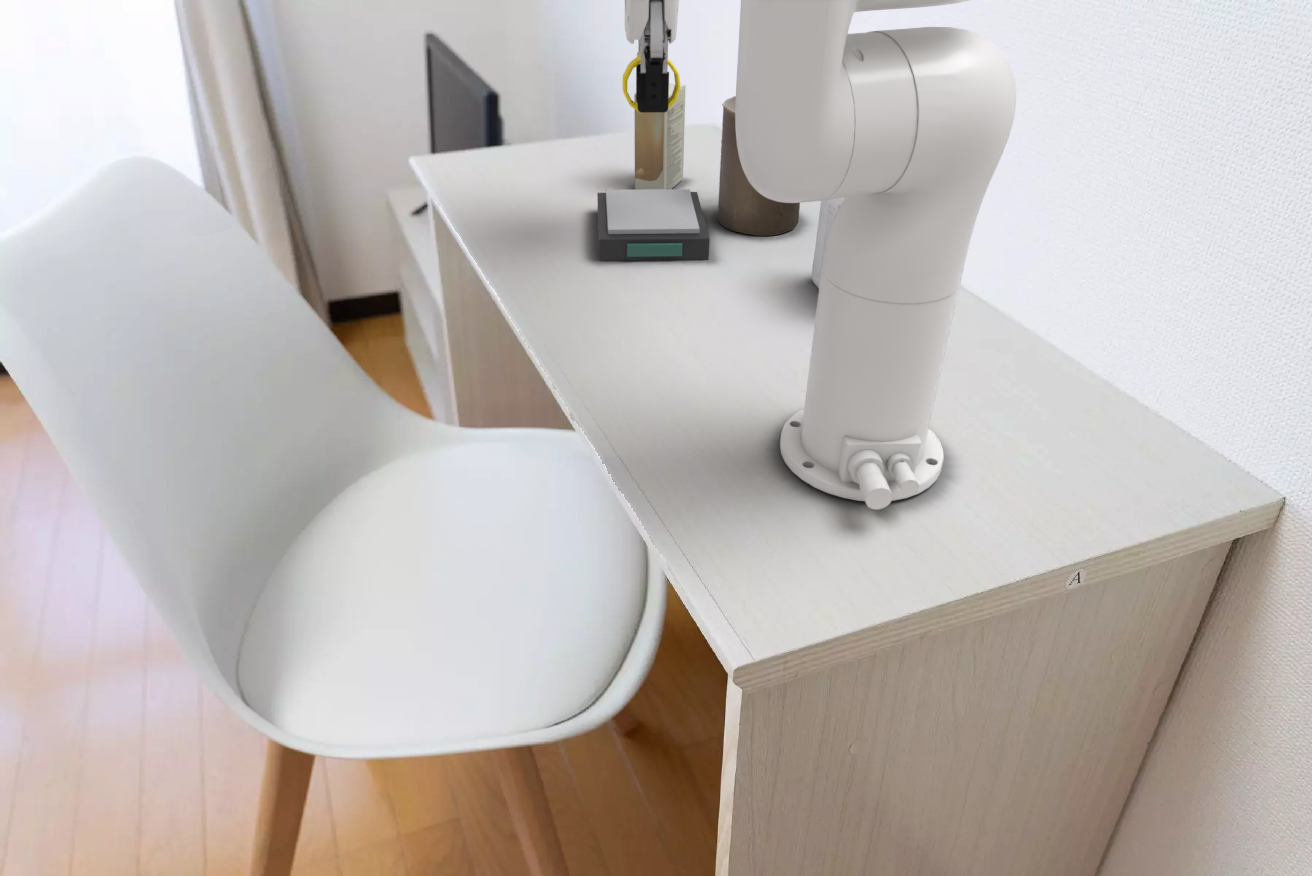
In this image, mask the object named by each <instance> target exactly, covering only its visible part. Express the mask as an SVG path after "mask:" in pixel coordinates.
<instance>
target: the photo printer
mask: <svg viewBox="0 0 1312 876" xmlns="http://www.w3.org/2000/svg"><path fill="white" fill-rule="evenodd" d="M845 198H846V197H844V198H837V199H830V200H822V201H820V205H819V215H818V222H817V231H816V238H815V246H814V253H813V259H812V260H813V261H812V268H811V280H812V282H813V283H814V285H815V286H816V287H817V289H819V286H820V278H821V270H822V264H823V256H824V249H825V244H826V240H827V236H828V233H829V230H830V227H831V225H832V223H833V220H834V218H835V216H836V214H837V212H838V210H839V208H840V206H841V204H842V203H843V201H844V199H845Z"/></svg>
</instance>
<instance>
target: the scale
mask: <svg viewBox="0 0 1312 876" xmlns="http://www.w3.org/2000/svg"><path fill="white" fill-rule="evenodd" d="M596 193H597V194H596V195H597V230H598V233H597V234H598V258H599V259H598V260H599V261H600V262H601V261H602V262H603V261H605V262H606V261H607V262H608V261H688V260H689V261H693V260H695V261H697V260H700V261H701V260H709V259H710V240H711V239H710V235H709V231H708V227H707V223H706V220H705V215H704V213H703V209H702V204H701V202H700V197H699V194H698V192H697V191H691V190H690V188H685V189H684V188H677V189H676V188H672V189H644V190H637V189H605V192H596Z"/></svg>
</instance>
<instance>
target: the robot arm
mask: <svg viewBox="0 0 1312 876" xmlns="http://www.w3.org/2000/svg"><path fill="white" fill-rule="evenodd" d="M969 1H970V0H740V8H739V9H740V12H739V30H738V48H737V65H736V66H737V67H736V83H735V84H736V85H735V96H736V105H735V129H736V141H737V149H738V154H739V159H740V162H741V165H742V169H743V171H744V173H745V175H746V177H747V179H748V181H749V183H750V184H751V185H752V186H753V188H754V189H755V190H756V191H757V192H758V193H760V194H761V195H763V196H764V197H766V198H768V199H771V200H774V201H777V202H783V203H800V204H802V203H812V202H821V201H822V200H830V199H837V198H844V197H846V198H845V199H844V201H843V203H842V204H841V206H840V208H839V210H838V212H837V214H836V216H835V218H834V220H833V223H832V225H831V227H830V230H829V233H828V236H827V240H826V244H825V249H824V256H823V264H822V270H821V278H820V286H819V288H818V295H817V302H816V310H815V318H814V326H813V333H812V334H813V335H812V342H811V352H810V359H809V368H808V375H807V384H806V391H805V399H804V407H803V408H802V409H800V410H798V411H797V412H795V413H794V414H793V415H791V416H790V417H789V418H788V419H787V421H785V423H784V425H783V428H782V430H781V432H780V441H779V448H780V455H781V457H782V459H783V462H784V463H785V464H786V466H787V467H788V468H789V469H790V471H791V472H792V473H793V474H794V475H796V476H797V477H798V478H799V479H800V480H801V481H803V482H805V483H806V484H809V485H810V486H811V487H813V488H814V489H817V490H818V491H822V492H824V493H826V494H829V495H832V496H835V497H839V498H843V499H847V500H852V501H856V502H857V501H858V502H864V503H865V505H866V506H867V508H869V509H871V510H876V511H878V510H882V509H885V508H887V507H888V506H889V505H890V504H892V503H891V502H892V501H893V502H894V501H898V500H903V499H908V498H910V497H914V496H916V495H919V494H920V493H922V492H924V491H926V490H927V489H929V488H930V487H931V486H932V485H933V484H934V483H935V482H936V481H937V480H938V478H939V476H940V474H941V473H942V469H943V464H944V460H945V456H944V448H943V446H942V443H941V440H940V439H939V438H938V436H937V435H936V433H935V432H934V431H933V430H932V429H930V425H931V420H932V416H933V411H934V407H935V402H936V398H937V393H938V388H939V385H940V384H939V383H940V379H941V375H942V370H943V365H944V361H945V357H946V352H947V350H946V349H947V346H948V343H949V337H950V333H951V327H952V323H953V320H954V319H953V318H954V314H955V310H956V304H957V300H958V295H959V291H960V286H961V284H962V279H963V274H964V270H965V265H966V260H967V257H968V251H969V249H970V244H971V238H972V236H973V232H974V229H975V225H976V223H977V218H978V215H979V212H980V209H981V207H982V204H983V200H984V198H985V195H986V194H987V193H986V192H987V190H988V188H989V185H990V183H991V181H992V179H993V176H994V174H995V172H996V169H997V168H998V165H999V163H1000V161H1001V158H1002V156H1003V153H1004V151H1005V149H1006V146H1007V144H1008V141H1009V138H1010V134H1011V132H1012V129H1013V126H1014V125H1013V124H1014V120H1015V114H1016V109H1017V107H1016V106H1017V87H1016V79H1015V76H1014V73H1013V69H1012V66H1011V65H1010V63H1009V60H1008V58H1007V57H1006V55H1005V54H1004V53H1003V52H1002V50H1001V49H1000V48H999V47H998V46H997V45H996V44H995V43H994V42H993V41H991V40H990V39H989V38H987V37H985V36H983V35H982V34H979V33H976V32H975V31H971V30H968V29H963V28H958V27H951V26H923V27H922V26H921V27H909V28H897V29H881V30H871V31H867V32H854V33H849V29H850V26H851V22H852V19H853V17H854V14H855V13H858V12H859V13H861V12H872V11H884V10H886V11H887V10H902V9H903V10H904V9H917V8H918V9H919V8H929V7H939V6H947V5H953V4H954V5H955V4H960V3H965V2H969ZM679 3H680V0H624V31H625V36H626V37H625V38H626V41H627V42H629V44H631V45H633V44H635V41H637V42H638V43H637V46H638V47H637V53H638V52H639V51H640V64H638V65H637V66H636V67H635V68H636V69H635V84H636V85H635V93H636V101H637V103H638V111H639V112H667V111H668V98H669V83H670V72H669V71H668V69H669V68H668V67H669V65H668V59H669V57H668V56H669V44H671V45H672V43H673V42H675V41H676V39H677V30H678V19H679V5H680V4H679ZM646 50H647V51H646Z"/></svg>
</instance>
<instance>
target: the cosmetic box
mask: <svg viewBox="0 0 1312 876" xmlns="http://www.w3.org/2000/svg"><path fill="white" fill-rule="evenodd" d="M680 86H681V87H680V91H679V94H678V97H677V100H675V102H674V104H673V105H672V106H671V107H670V108H669V109H668V111H667V112H641V113H640V112H638V111H637V110H635V109H634V190H644V189H674V187H675V186H677V185H678V184H680V182H682V181H683V180H684V167H685V166H684V164H685V163H684V161H685V158H684V157H685V126H686V125H685V124H686V122H685V121H686V120H685V118H686V88H687V87H686V85H684V84H680ZM674 87H675V83H670V82H669V98H670V97H671V96H672V93H673V90H674ZM669 98H668V99H669ZM633 99H634V100H633V101H634V102H635V103H637V101H636V92H635V93H634V98H633ZM637 104H638V103H637Z"/></svg>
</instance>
